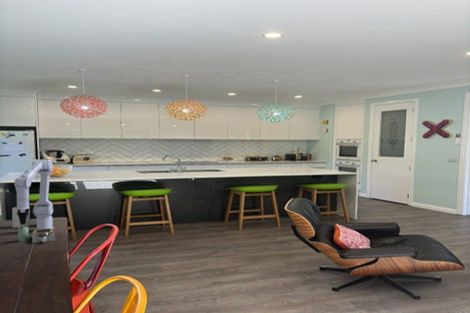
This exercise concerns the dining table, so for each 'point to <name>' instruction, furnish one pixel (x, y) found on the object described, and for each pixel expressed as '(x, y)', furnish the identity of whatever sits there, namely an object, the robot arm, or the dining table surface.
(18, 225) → the supplement box
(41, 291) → the dining table surface
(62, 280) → the dining table surface
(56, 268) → the dining table surface
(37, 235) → the gearbox
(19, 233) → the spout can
